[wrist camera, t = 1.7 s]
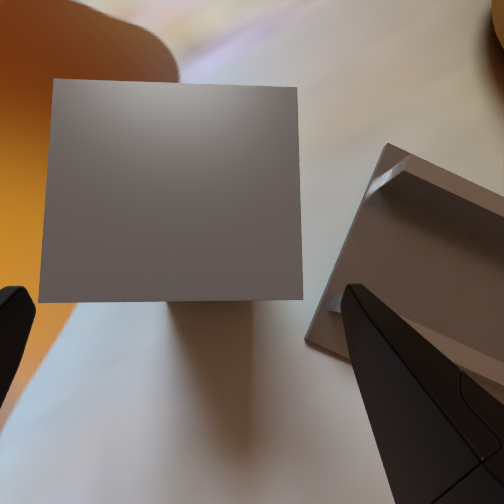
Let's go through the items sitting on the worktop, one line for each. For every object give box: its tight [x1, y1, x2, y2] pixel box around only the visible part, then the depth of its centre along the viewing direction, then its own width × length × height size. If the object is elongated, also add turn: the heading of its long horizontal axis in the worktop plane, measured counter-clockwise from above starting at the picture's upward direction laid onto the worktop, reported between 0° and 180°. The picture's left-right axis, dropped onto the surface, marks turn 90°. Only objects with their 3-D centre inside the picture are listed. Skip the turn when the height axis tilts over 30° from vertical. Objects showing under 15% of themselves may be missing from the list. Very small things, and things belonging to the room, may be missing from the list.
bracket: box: [305, 143, 504, 404], centre depth 19 cm, size 13×15×4 cm
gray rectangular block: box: [38, 79, 303, 303], centre depth 13 cm, size 5×5×13 cm
